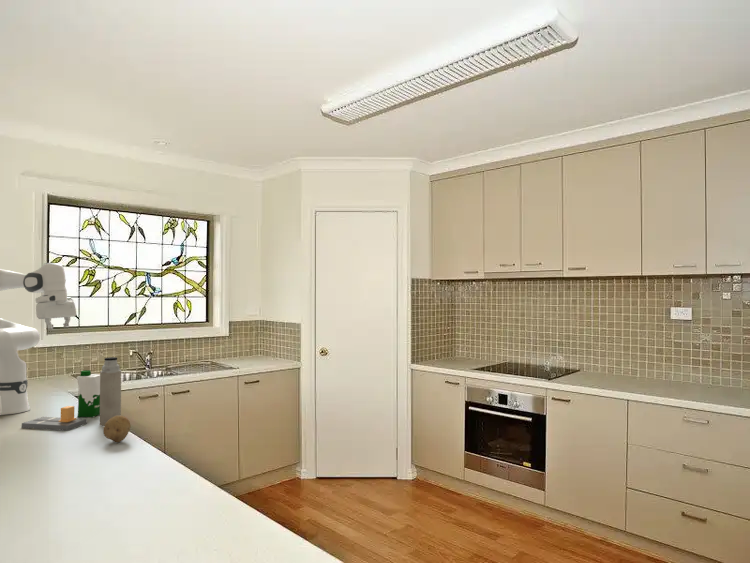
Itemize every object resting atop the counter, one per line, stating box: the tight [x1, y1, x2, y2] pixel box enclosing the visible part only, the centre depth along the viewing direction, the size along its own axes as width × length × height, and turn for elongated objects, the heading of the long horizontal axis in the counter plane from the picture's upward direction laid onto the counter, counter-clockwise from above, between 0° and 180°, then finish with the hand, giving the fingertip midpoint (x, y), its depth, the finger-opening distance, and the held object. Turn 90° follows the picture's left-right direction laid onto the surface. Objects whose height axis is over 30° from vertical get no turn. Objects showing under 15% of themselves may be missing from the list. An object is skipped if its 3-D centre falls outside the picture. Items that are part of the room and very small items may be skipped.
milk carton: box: [76, 369, 100, 418], centre depth 236 cm, size 9×9×20 cm
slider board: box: [21, 416, 88, 432], centre depth 217 cm, size 21×11×2 cm, turn 80°
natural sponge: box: [103, 415, 132, 444], centre depth 194 cm, size 9×9×10 cm
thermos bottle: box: [99, 356, 122, 427], centre depth 221 cm, size 8×8×28 cm
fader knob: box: [59, 405, 77, 422], centre depth 216 cm, size 4×5×6 cm
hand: (58, 327), depth 239 cm, fingers open, 8 cm apart
